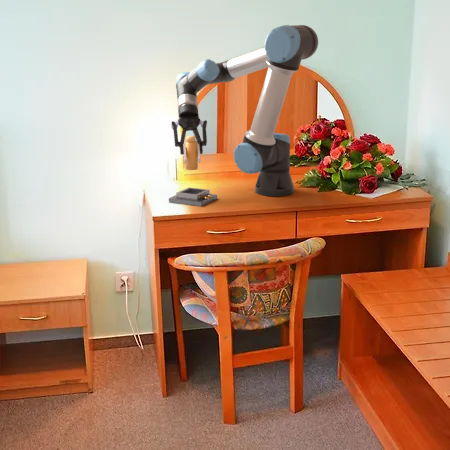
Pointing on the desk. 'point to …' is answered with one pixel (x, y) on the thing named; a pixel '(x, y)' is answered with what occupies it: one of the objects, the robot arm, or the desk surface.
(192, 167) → the wooden peg doll
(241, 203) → the desk surface
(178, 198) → the plate
